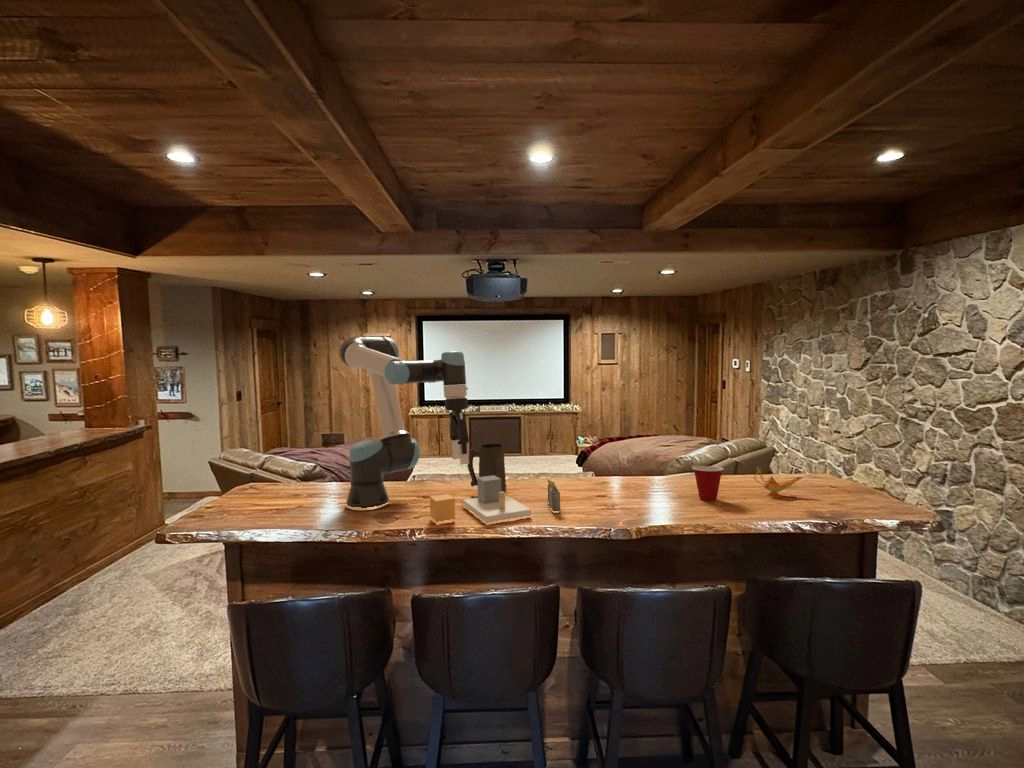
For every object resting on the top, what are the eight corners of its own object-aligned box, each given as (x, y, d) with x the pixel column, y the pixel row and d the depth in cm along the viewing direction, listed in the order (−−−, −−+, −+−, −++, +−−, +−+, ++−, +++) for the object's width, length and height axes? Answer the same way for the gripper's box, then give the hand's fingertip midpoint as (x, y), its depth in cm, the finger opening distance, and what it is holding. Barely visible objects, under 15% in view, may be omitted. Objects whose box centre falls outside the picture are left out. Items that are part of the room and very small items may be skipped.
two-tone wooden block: (430, 520, 170) (429, 496, 170) (449, 517, 173) (448, 493, 173) (436, 525, 165) (435, 501, 164) (455, 522, 167) (454, 498, 167)
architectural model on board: (546, 505, 186) (546, 478, 186) (555, 505, 186) (554, 478, 186) (551, 514, 175) (550, 486, 174) (560, 514, 175) (559, 486, 175)
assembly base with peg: (463, 508, 183) (462, 477, 183) (504, 501, 190) (503, 472, 190) (486, 525, 163) (485, 491, 163) (531, 518, 170) (530, 485, 170)
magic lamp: (808, 497, 187) (808, 467, 187) (758, 498, 188) (758, 468, 187) (797, 492, 194) (798, 464, 194) (749, 493, 194) (750, 464, 194)
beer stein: (510, 491, 205) (505, 441, 204) (507, 498, 194) (502, 446, 193) (472, 493, 206) (467, 444, 205) (467, 501, 196) (462, 449, 195)
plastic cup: (718, 495, 193) (718, 463, 192) (727, 503, 182) (727, 470, 182) (688, 495, 194) (688, 463, 194) (696, 503, 183) (696, 470, 183)
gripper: (475, 397, 160) (480, 464, 160) (459, 396, 184) (464, 455, 184) (451, 398, 158) (456, 467, 158) (438, 398, 182) (443, 458, 182)
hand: (460, 461), depth 171 cm, fingers open, 13 cm apart
